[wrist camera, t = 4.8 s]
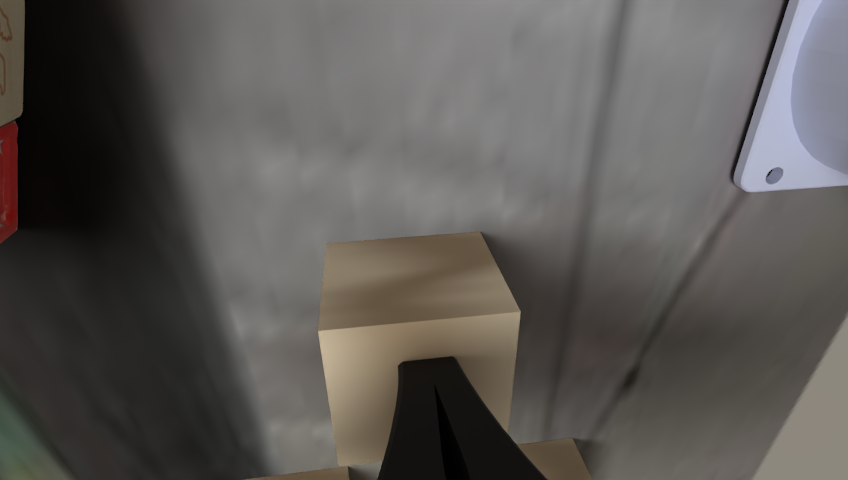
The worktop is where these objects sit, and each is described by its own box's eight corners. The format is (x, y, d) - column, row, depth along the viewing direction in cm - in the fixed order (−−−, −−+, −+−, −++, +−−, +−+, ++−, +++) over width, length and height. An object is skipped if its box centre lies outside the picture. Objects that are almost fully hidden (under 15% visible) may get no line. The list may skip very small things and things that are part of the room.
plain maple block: (479, 230, 14) (520, 311, 11) (473, 346, 16) (506, 445, 13) (326, 241, 14) (317, 330, 10) (341, 359, 16) (338, 466, 12)
